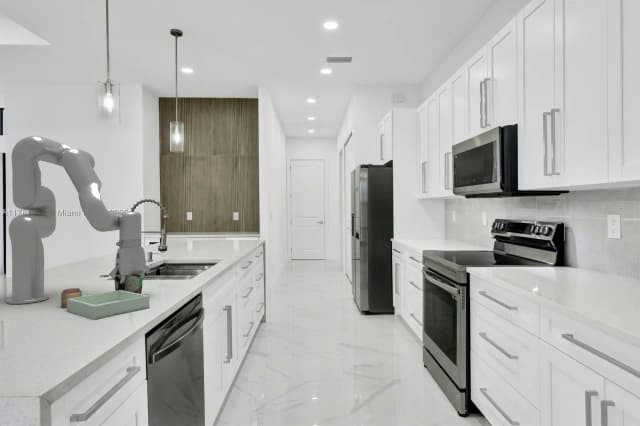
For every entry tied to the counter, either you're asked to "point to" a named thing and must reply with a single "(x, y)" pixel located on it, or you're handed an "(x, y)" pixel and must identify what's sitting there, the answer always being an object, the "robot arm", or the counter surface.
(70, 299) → the bin
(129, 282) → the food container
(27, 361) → the counter surface
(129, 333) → the counter surface
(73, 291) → the salt cellar
